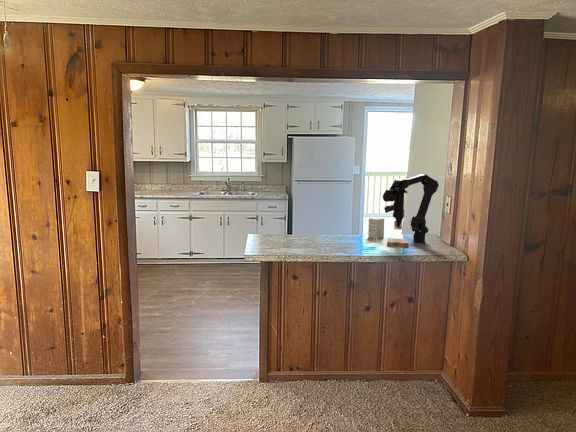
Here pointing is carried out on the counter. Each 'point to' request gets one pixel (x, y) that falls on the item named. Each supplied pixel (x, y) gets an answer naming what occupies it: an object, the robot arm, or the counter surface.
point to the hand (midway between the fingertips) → (398, 226)
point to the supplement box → (376, 228)
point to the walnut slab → (397, 242)
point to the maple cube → (396, 226)
